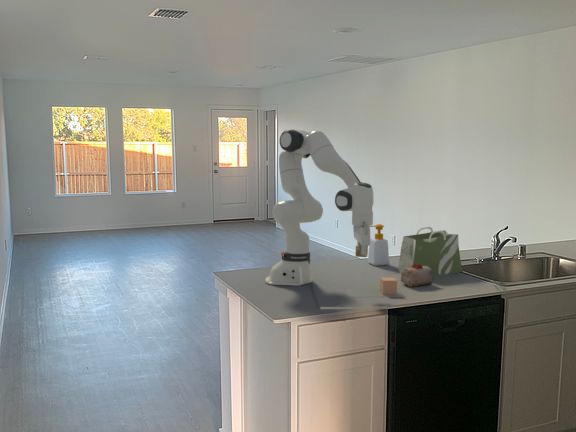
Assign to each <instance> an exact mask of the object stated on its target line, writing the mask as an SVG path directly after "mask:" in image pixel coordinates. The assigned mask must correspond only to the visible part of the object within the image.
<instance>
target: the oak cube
mask: <svg viewBox="0 0 576 432" xmlns="http://www.w3.org/2000/svg"><path fill="white" fill-rule="evenodd" d="M368 254H369V246H366V252H365V254H361V245H358V244H357V245H355V257H356V258H357V257H358V258H368Z"/></svg>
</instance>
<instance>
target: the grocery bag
mask: <svg viewBox="0 0 576 432" xmlns="http://www.w3.org/2000/svg"><path fill="white" fill-rule="evenodd" d="M426 229H427V230H430V231H429V232H425V233H420V232H421V231H422V230H426ZM459 246H460V245H459V234H454V233H448V232H447V231H446V230H437V231H436V230H433V228H432V227H430V226H426V227H421V228H420V229H418V230H417V232H416V234H412V235H411V234H410V235H405V236H403V237H402V242H401V247H400V255H399V260H398V261H399V262H398V267H397V273H398V274H400V275H401V272H402V271H403V270H404V269H405V268H411V267H412V265H413V264H415V265H418V264H420V265H421V266H428V267H429V268H431V271H432V277H433V276H443V275H449V274H455V273H456V274H458V273H464V271H463V266H462V261H461V253H460V247H459Z"/></svg>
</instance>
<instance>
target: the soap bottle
mask: <svg viewBox="0 0 576 432" xmlns="http://www.w3.org/2000/svg"><path fill="white" fill-rule="evenodd" d="M373 227H375V230H376V231H377V233H374V238H373V237H372V238H370V245H369V246H368V256H367V263H368V264H370V265H373V266H376V267H377V266H389V264H390V257H389V256H390V254H389V242H388V240H387V239H385V238H384V233H381V232H382V231H383V228H385V226H384V225H382V224H380V223H378V224H375V225H371V226H370V228H373Z"/></svg>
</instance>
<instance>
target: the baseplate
mask: <svg viewBox="0 0 576 432" xmlns="http://www.w3.org/2000/svg"><path fill="white" fill-rule="evenodd" d="M344 290H345V292H346V293H347V295H348V297H349V298H404V297H405V298H406V297H407V296H406V295H405V294H404V293H403V292H402V291H401V290H400V289H399V288H398V287H397V294H382V293H381V291H380V288H344Z"/></svg>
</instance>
